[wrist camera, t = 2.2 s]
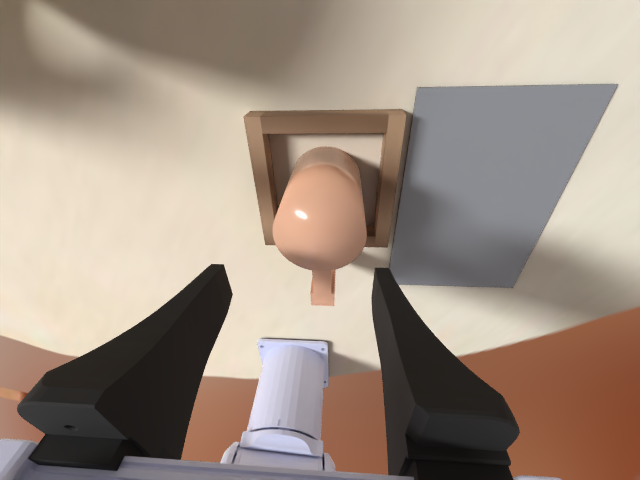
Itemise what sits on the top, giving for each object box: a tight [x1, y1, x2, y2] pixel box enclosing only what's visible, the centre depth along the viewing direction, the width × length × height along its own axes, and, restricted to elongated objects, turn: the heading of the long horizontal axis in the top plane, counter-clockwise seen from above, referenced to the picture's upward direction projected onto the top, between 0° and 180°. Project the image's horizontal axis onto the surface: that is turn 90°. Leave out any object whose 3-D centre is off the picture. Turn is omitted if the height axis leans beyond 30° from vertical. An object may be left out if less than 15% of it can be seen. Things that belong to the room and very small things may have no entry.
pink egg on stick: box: [273, 147, 367, 306], centre depth 19 cm, size 9×5×7 cm, turn 2°
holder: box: [244, 109, 406, 247], centre depth 20 cm, size 10×10×2 cm
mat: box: [389, 84, 618, 288], centre depth 21 cm, size 16×11×1 cm
